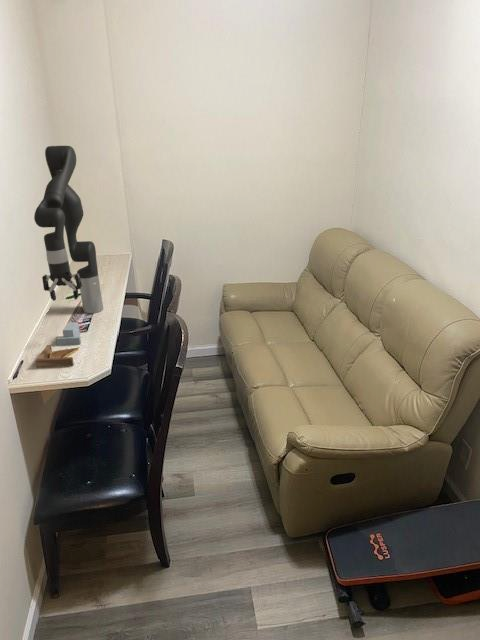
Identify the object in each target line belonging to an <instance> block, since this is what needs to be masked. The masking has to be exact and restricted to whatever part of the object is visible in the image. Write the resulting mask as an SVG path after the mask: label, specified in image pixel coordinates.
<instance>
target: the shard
mask: <svg viewBox="0 0 480 640" xmlns="http://www.w3.org/2000/svg"><path fill="white" fill-rule="evenodd" d="M79 349H80V347H73V348H65V349H60V350H54V351H53V350H52V352H51V353H50V356H49V357H48V358H63V357H70V356H71V355H73V354H74V353H76V352H78V351H79Z"/></svg>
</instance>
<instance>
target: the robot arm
mask: <svg viewBox="0 0 480 640" xmlns="http://www.w3.org/2000/svg"><path fill="white" fill-rule="evenodd" d="M44 156H45V161H46V165H47V168H48V171H49V174H50V177H51V179H50V181H48V183H47V185H46V187H45V189H44V190H45V192H44V195H43V199H42V200H41V201H40V203H39V204H38V206H37V207H36V209H35V212H34V217H33V219H34V222H35V224H36V225H37V226H38V227H39V228H54V231H53V232H49V233H46V234H45V235H44V236H43V241H44V246H45V252H46V253H45V254H46V255H45V256H46V261H47V264H48V270H49V274H50V275H48V274H46V273H45V274H44V275H42V277H41V278H42V285H43V286H42V287H43V291H45V292H46V291H47V292H49V294H50V298H51V300H52V301H56V300H57V295H56V290H55V288H56V287H57V286H58V287H60V286H64V287H65V286H68V287H69V288H70V289H71V290H72V293H73V298H74V300H77V299H78V298H79V297H80V298H81V303H82V304H81V305H82V310H83V312H84V313H86V314H95V313H99V312H102V311H103V310H104V303H103V297H102V291H101V284H100V279H99V271H98V269H99V268H98V263H97V262H98V261H97V251H96V246H95V243H94V242H93V241H88V240H87V241H85V240H84V241H78V240H77V232H78V230H79V226H80V224H81V223H82V220H83V219H84V218H83V217H84V210H83V208H84V207H83V205H82V200H81V197H80V196H79V195H78V193H77V192H76V191H75V190H74V189H73V188H72V187H71V186H70V185H69V182H70V180H71V178H72V176H73V173H74V170H75V169H76V165H77V155H76V151H75V149H74V148H73V146H70V145H49V146H47V147H46V148H45V150H44ZM64 230H65V231H64ZM65 232H66V240H67V245H68V250H69V256H70V258H71V260H72V261H73V262H74V263H87V265H85V266H84V267H82V268H79V269H78V270H77V271H76V273H72V272H71V267H70V263H69V257H68V252H67V249H66V245H65V239H64V238H65V237H64V233H65ZM72 279H73V280H75V282H74V281H73V280H72ZM49 280H51V281H52V284H51V286H50V285H49ZM79 292H80V293H79ZM79 294H80V296H79Z"/></svg>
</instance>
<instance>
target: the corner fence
mask: <svg viewBox="0 0 480 640" xmlns="http://www.w3.org/2000/svg"><path fill="white" fill-rule="evenodd" d="M51 352H53V348H52V345H51V344H47V345H45V347H44V348H43V350H42V351H41V352H40V353H39V355H38V356H37V358H36V359H35V365H36V366H35V367H36V368H37V369H45V368H61V367H63V368H64V367H73V366H74V365H75V364H74V357H73V356H67V357H63V358H49V357H50V353H51Z"/></svg>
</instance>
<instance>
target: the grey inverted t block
mask: <svg viewBox="0 0 480 640" xmlns="http://www.w3.org/2000/svg"><path fill="white" fill-rule="evenodd" d="M62 334H63V336H59V337H57V338H56V343H57V346H58V347H59V346H78V345H80V346H81V344H82V340H81V331H80V326H79V321H77V322H76V321H71V322H67V323H66V325H65V326H64V328H63V329H62Z"/></svg>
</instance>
